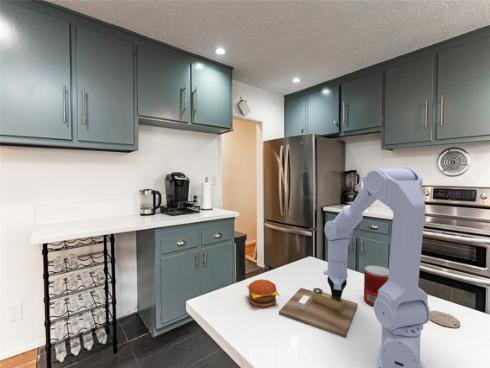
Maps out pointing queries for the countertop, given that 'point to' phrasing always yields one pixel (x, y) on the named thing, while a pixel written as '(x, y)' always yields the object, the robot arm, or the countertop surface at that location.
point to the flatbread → (444, 319)
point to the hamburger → (262, 293)
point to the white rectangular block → (304, 302)
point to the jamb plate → (320, 314)
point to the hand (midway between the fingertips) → (336, 301)
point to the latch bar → (327, 300)
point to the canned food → (374, 282)
